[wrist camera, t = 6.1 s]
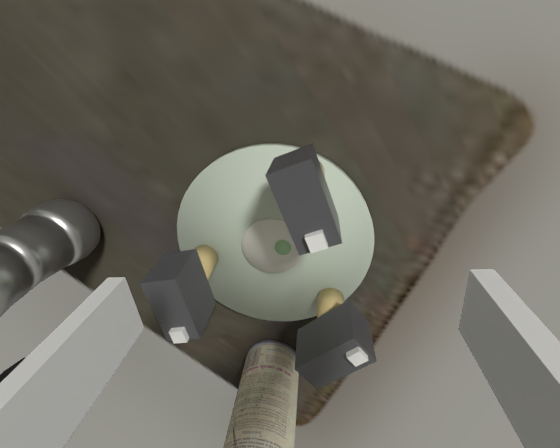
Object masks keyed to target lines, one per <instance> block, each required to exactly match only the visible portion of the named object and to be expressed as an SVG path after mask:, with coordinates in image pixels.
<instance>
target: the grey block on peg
mask: <svg viewBox="0 0 560 448" xmlns="http://www.w3.org/2000/svg"><path fill="white" fill-rule="evenodd" d="M265 176H266V179H267V181H268V183H269V186H270V188H271V190H272V193H273V195H274V197H275V200H276V202H277V204H278V207H279V209H280V211H281V214H282V216H283V218H284V221H285V223H286V225H287V228H288V230H289V233H290V235H291V237H292V240H293V242H294V244H295V247H296V249H297V251H298V254H299V256H300V255H303V254H307V253H314V252H318V251H321V250H325V249H328V247H331V246H335V245H338V244H342V238H341V232H340V225H339V218H338V214H337V211H336V208H335V205H334V202H333V200H332V197H331V194H330V191H329V188H328V185H327V183H326V180H325V171H324V167H323V165H322V163H321V162H320V161H319V160H318V157H317V154H316V151H315V148H314V146H313V143H312V144H309V145H307V146H304V147H301V148H299V149H296V150H293V151H291V152H288V153H285V154H283V155H280V156H278V157H275V158H274V159H273V161H272V163H271V165H270V167H269V169H268V171H267V173H266V175H265Z"/></svg>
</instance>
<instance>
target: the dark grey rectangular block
mask: <svg viewBox="0 0 560 448" xmlns="http://www.w3.org/2000/svg"><path fill="white" fill-rule="evenodd" d="M217 262H218V254H217V252H216V251H215V250H214V249H213V248H212V247H210V246H207V245H199V246H197V247H195V248H194V249H192V250H185V251H177V252H170V253H165V254H164V255H163V257H162V258H161V259H160V260H159V261H158V262H157V264H156V265H155V266H154V267H153V268H152V269H151V271H150V272H149V273H148V274H147V275H146V277H145V278H144V279H143V280H142V281H141V282H140V285H141V287H142V290H143V292H144V294H145V296H146V298H147V300H148V302H149V304H150V306H151V308H152V310H153V313H154V315H155V317H156V319H157V321H158V323H159V325H160V327H161V329H162V331H163V333H164V336H165V338H166V340H167V341H173V343H186V342H188V340H191V339H200V338H201V336H202V334H203V331H204V329H205V327H206V324H207V322H208V320H209V318H210V315H211V313H212V311H213V309H214V306H215V304H216V301H215V299H214V296H213V293H212V290H211V288H210V285H209V282H208V279H209V277H210V276H211V274H212V272H213V270H214V268H215V266H216V264H217Z"/></svg>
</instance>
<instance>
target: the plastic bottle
mask: <svg viewBox="0 0 560 448" xmlns="http://www.w3.org/2000/svg"><path fill="white" fill-rule="evenodd" d="M99 241H100V225H99V222H98V220H97V218H96V217H95V215H94V214H93V213H92V212H91V211H90V210H89V209H88V208H87V207H85V206H84V205H82V204H80V203H78V202H75V201H71V200H68V199H54V200H50V201H46V202H42V203H40V204H38V205H36V206H35V207H33V208H32V209H30V210H29V211H27V212H26V213H25V214H24V215H22V216H21V217H20V218H19V219H17V220H16V221H14V222H12V223H10V224H9V225H7V226H5V227H4V228H2V229H0V317H1V316H2V315H3V314H4V313H5V312H6V311H7V310H8V309H9V308H10V307H11V306H12V305H13V304H14V303H15V302H17V301H18V300H19V299H20V298H22V297H23V296H24V295H25V294H26V293H28V291H30V290H31V289H33V288H34V287H35V286H36V285H37V284H39V283H40V282H41V281H43V280H45V279H46V278H48V277H50V276H51V275H53V274H54V273H56V272H58V271H59V270H61V269H63V268H64V267H66V266H69V265H72V264H74V263H76V262H78V261H79V260H81V259H83V258H85V257H86V256H88V255H89V254H90V253H91V252H92V251H93V249H94V248H95V247H96V246H97V245H98V243H99Z"/></svg>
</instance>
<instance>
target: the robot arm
mask: <svg viewBox="0 0 560 448" xmlns="http://www.w3.org/2000/svg"><path fill="white" fill-rule="evenodd" d="M143 329H144V327H143V324H142V321H141V319H140V316H139V313H138V311H137V308H136V305H135V303H134V300H133V297H132V295H131V292H130V289H129V287H128V284H127V281H126V279H125V277H117V278H107V279H106V280H105V281H104V282H103V283H102V284H101V285H100V286H99V287H98V288H97V289H96V290H95V291H94V292H93V293H92V294H91V295H90V296H89V297H88V298H87V299H86V300H85V301H84V302H83V303H81V305H79V306H78V307H77V308H76V310H74V311H73V312H72V313H71V314H70V316H68V317H67V318H66V319H65V320H64V321H63V322H62V323H61V324H60V325H59V326H58V327H57V328H56V329H55V330H54V331H53V332H52V333H51V334H50V335H49V336H48V337H47V338H46V339H45V340H44V341H43V342H42V343H41V344H40V345H39V346H37V348H35V349H34V351H32V352H31V353H30V354H29V355H28V356H27V357H26V358H23V359H21V360H20V361H18V362H17V363H16V364H14V365H13V366H11V367H10V368H8V369H7V370H5V371H4V372H3V373H2V374H1V375H0V448H64V446H65V445H66V443H67V442H68V440H69V439H70V437H71V436H72V434H73V433H74V431H75V430H76V428H77V427H78V425H79V424H80V423H81V421H82V420H83V418H84V417H85V415H86V414H87V412H88V411H89V409H90V408H91V406H92V405H93V403H94V402H95V400H96V399H97V397H98V396H99V394H100V393H101V391H102V390H103V388H104V387H105V385H106V384H107V383H108V381H109V380H110V378H111V377H112V375H113V374H114V372H115V371H116V369H117V368H118V366H119V365H120V363H121V362H122V360H123V359H124V358H125V356H126V355H127V353H128V352H129V350H130V349H131V347H132V346H133V344H134V343H135V341H136V340H137V338H138V337H139V335H140V334H141V332H142V331H143ZM459 331H460V333H461V334H462V336H463V338H464V340H465V342H466V343H467V345H468V347H469V349H470V351H471V352H472V354H473V356H474V358H475V360H476V362H477V363H478V365H479V367H480V369H481V370H482V372H483V374H484V376H485V378H486V379H487V381H488V383H489V385H490V387H491V388H492V390H493V392H494V394H495V396H496V397H497V399H498V401H499V403H500V405H501V406H502V408H503V410H504V412H505V414H506V415H507V417H508V419H509V421H510V423H511V424H512V426H513V428H514V430H515V432H516V433H517V435H518V437H519V438H520V441H521V442H522V444H523V446H524V448H560V342H559V341H558V340H557V339H556V338H555V336H554V335H553V334H552V333H551V332H550V331H549V330H548V329H547V328H546V326H544V324H543V323H542V322H541V321H540V320H539V319H538V318H537V316H536V315H535V314H534V313H533V312H532V311H531V310H530V309H529V308H528V307H527V305H526V304H525V303H524V302H523V301H522V300H521V299H520V298H519V297H518V295H516V293H515V292H514V291H513V290H512V289H511V288H510V287H509V286H508V284H507V283H506V282H505V281H504V280H503V279H502V278H501V277H500V276H499V275H498V273H497V272H495V270H494V269H485V270H484V269H481V270H470V272H469V278H468V283H467V288H466V293H465V298H464V304H463V309H462V314H461V320H460V324H459Z"/></svg>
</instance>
